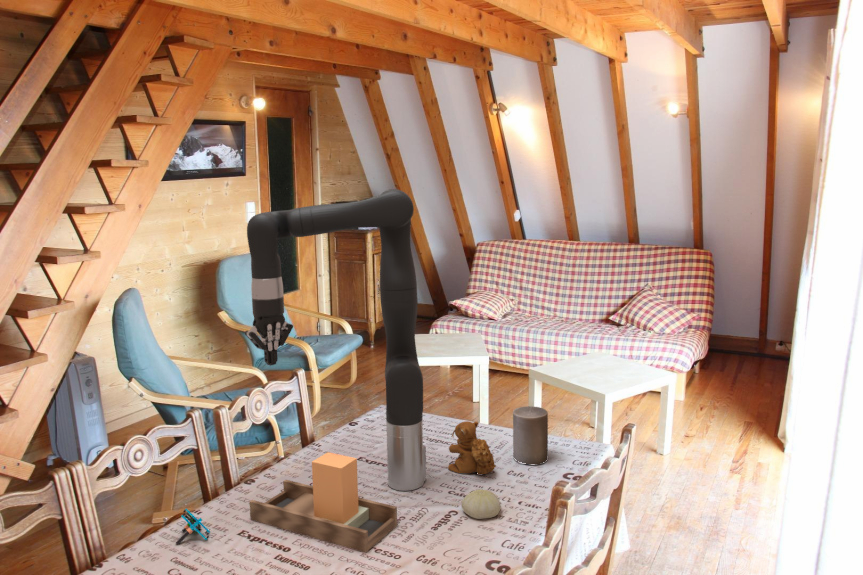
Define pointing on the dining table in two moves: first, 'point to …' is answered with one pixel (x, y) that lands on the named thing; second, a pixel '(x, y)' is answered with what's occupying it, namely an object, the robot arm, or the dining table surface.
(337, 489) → the orange block
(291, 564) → the dining table surface
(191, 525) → the stick construction toy
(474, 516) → the sea urchin shell
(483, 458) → the stuffed squirrel
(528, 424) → the pillar candle
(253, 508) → the open wooden box
